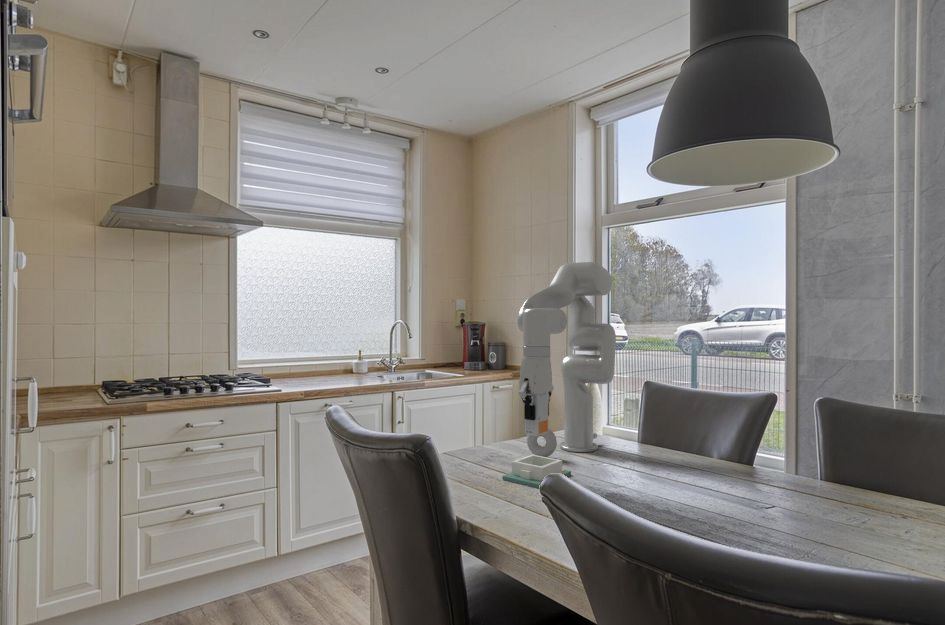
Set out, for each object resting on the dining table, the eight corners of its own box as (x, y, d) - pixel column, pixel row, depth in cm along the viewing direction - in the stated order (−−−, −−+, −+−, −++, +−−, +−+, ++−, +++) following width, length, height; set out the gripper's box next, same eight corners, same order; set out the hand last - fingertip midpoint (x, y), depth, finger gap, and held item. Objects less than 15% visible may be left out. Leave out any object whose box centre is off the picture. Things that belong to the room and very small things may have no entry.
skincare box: (537, 436, 148) (537, 392, 148) (524, 434, 151) (524, 391, 151) (549, 433, 153) (548, 390, 153) (535, 431, 156) (535, 388, 156)
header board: (535, 467, 162) (535, 452, 162) (571, 474, 154) (570, 458, 154) (502, 479, 150) (502, 463, 150) (539, 488, 142) (539, 471, 142)
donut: (524, 456, 174) (524, 425, 174) (529, 454, 177) (529, 423, 177) (554, 460, 169) (554, 428, 169) (558, 458, 172) (558, 426, 172)
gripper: (542, 350, 161) (542, 412, 161) (507, 353, 148) (507, 420, 148) (564, 351, 156) (564, 415, 156) (530, 355, 143) (530, 424, 143)
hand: (536, 417), depth 152 cm, fingers closed on skincare box, 6 cm apart
